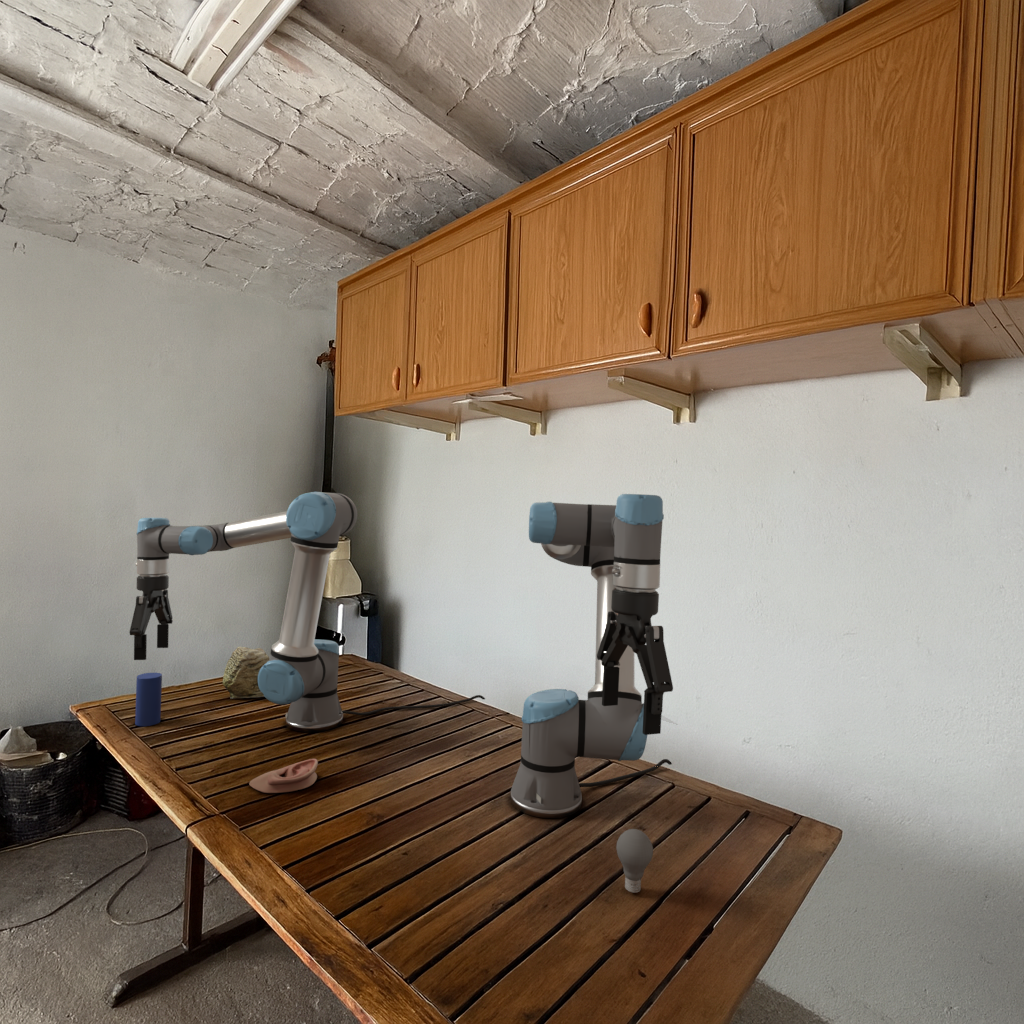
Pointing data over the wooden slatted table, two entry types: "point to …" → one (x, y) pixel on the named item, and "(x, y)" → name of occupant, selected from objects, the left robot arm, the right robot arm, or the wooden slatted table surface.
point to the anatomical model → (287, 778)
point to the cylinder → (148, 699)
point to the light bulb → (634, 857)
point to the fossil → (244, 672)
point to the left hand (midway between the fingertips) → (151, 653)
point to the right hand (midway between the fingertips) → (629, 718)
